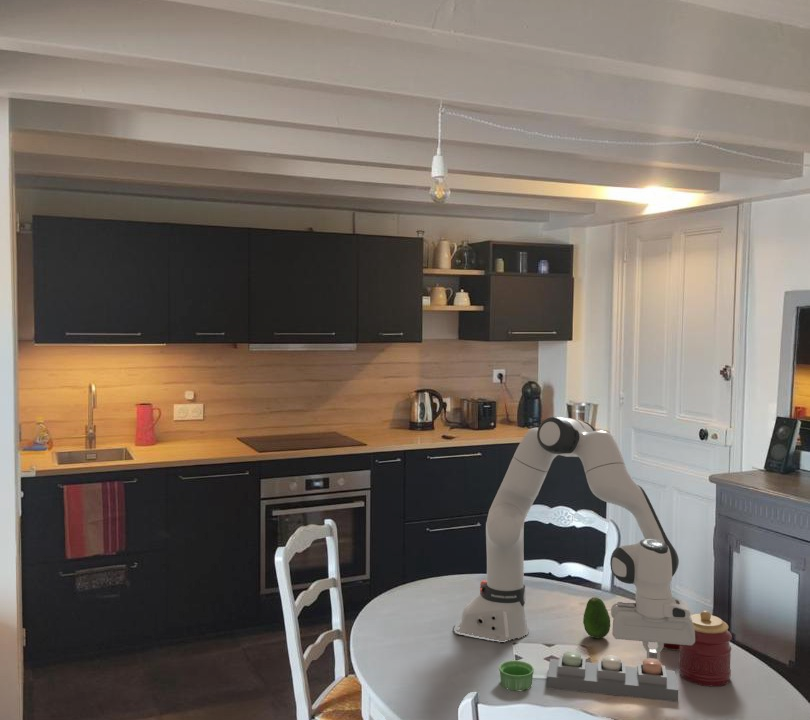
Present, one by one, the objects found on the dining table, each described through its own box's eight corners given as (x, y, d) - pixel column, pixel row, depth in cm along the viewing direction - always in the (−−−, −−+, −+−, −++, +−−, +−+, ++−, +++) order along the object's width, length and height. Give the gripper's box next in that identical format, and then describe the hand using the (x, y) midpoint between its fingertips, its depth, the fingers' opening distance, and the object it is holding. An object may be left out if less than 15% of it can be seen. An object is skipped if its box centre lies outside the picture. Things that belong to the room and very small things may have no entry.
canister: (725, 692, 206) (726, 624, 204) (673, 679, 212) (674, 614, 211) (734, 672, 217) (736, 607, 215) (685, 661, 223) (686, 598, 222)
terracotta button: (642, 674, 205) (643, 665, 205) (642, 666, 210) (642, 658, 210) (661, 676, 204) (662, 667, 204) (660, 668, 209) (660, 660, 208)
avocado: (583, 631, 244) (584, 592, 244) (610, 634, 242) (611, 594, 242) (582, 641, 237) (582, 601, 236) (609, 644, 235) (610, 604, 234)
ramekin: (510, 673, 217) (510, 657, 216) (540, 683, 211) (540, 666, 211) (492, 685, 210) (492, 669, 210) (522, 695, 204) (522, 679, 204)
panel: (547, 687, 208) (547, 669, 208) (550, 669, 219) (550, 651, 218) (678, 701, 200) (678, 682, 200) (674, 682, 211) (674, 663, 211)
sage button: (562, 666, 210) (562, 658, 210) (563, 658, 214) (563, 650, 214) (580, 668, 209) (580, 659, 209) (581, 660, 213) (581, 652, 213)
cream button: (602, 670, 208) (602, 661, 207) (602, 662, 212) (602, 654, 212) (620, 672, 206) (621, 663, 206) (620, 664, 211) (620, 656, 211)
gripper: (611, 606, 205) (611, 659, 206) (696, 612, 200) (695, 666, 201) (611, 597, 211) (610, 648, 212) (693, 603, 207) (693, 656, 207)
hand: (652, 657), depth 207 cm, fingers closed
